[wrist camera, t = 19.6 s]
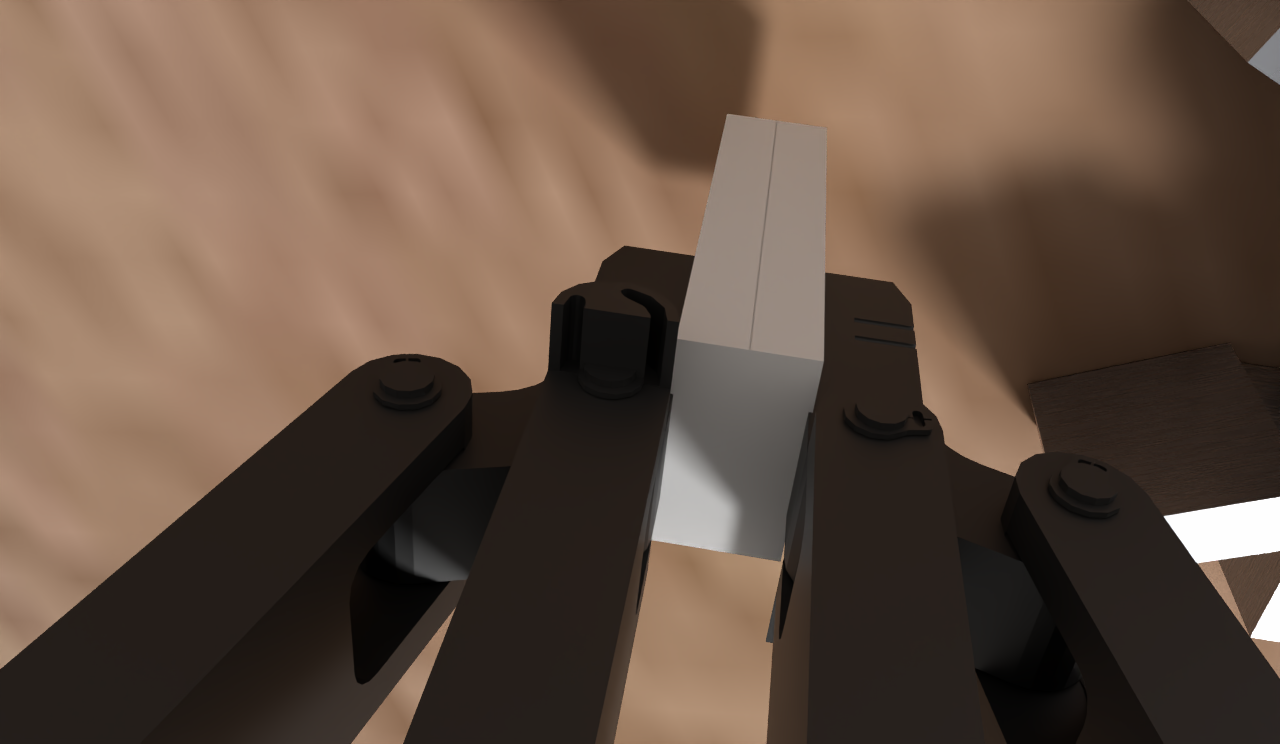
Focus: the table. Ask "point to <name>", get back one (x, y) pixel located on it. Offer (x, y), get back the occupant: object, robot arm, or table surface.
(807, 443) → the robot arm
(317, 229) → the table surface
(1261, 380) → the dark grey blocks
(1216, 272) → the table surface
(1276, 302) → the table surface
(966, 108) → the table surface
